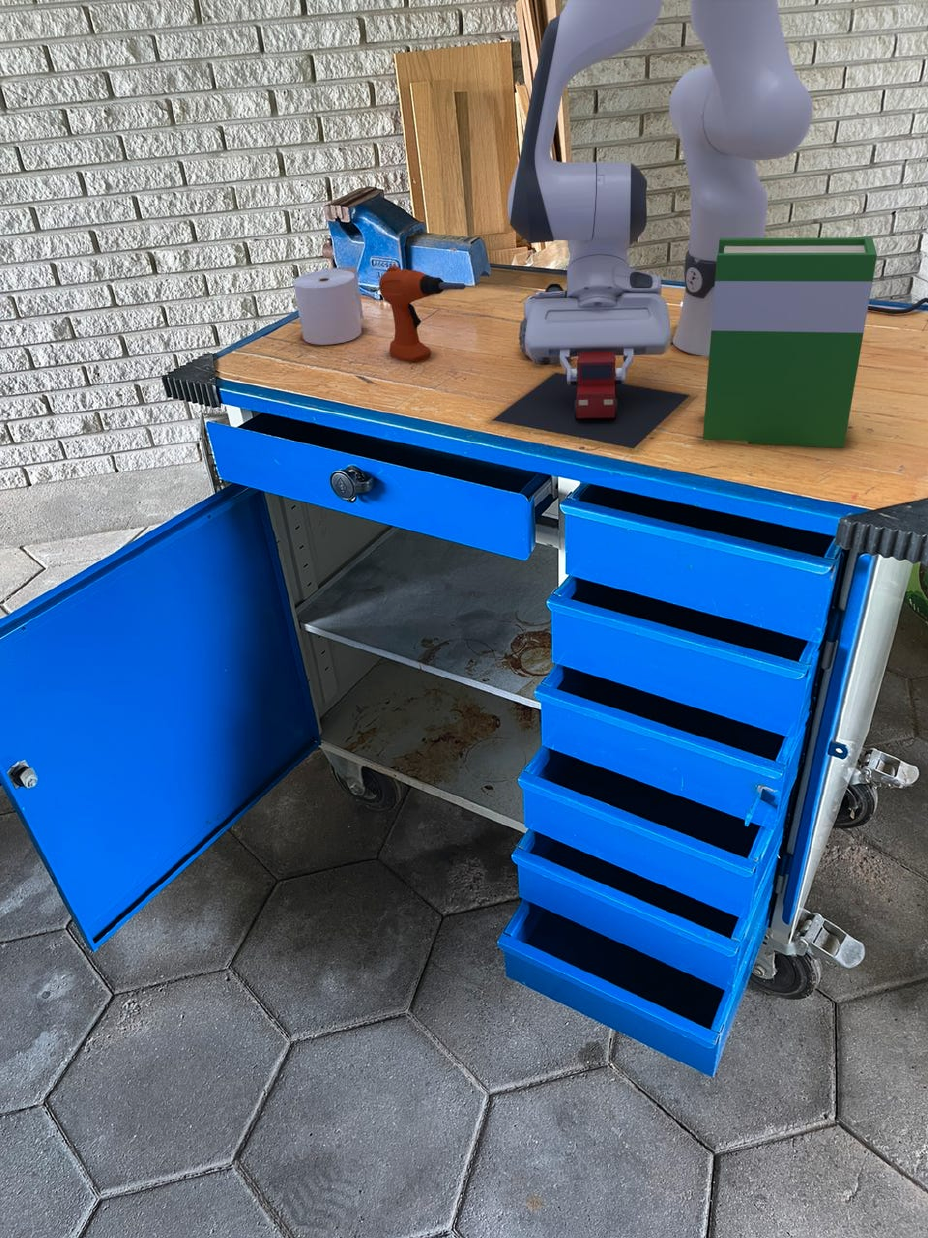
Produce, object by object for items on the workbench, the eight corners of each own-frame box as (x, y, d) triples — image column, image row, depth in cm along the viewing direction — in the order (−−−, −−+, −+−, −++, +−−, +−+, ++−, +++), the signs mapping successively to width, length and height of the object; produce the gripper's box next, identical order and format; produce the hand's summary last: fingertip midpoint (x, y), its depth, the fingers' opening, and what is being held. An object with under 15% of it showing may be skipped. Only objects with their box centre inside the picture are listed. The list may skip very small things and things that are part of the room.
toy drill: (466, 369, 150) (450, 270, 143) (385, 360, 162) (365, 269, 155) (486, 359, 153) (471, 262, 145) (405, 351, 165) (387, 261, 158)
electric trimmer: (539, 326, 168) (538, 308, 166) (545, 297, 181) (544, 280, 179) (560, 326, 168) (560, 308, 166) (565, 296, 180) (564, 279, 178)
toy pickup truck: (576, 388, 144) (576, 336, 139) (616, 387, 143) (617, 334, 138) (574, 425, 133) (574, 370, 129) (616, 424, 133) (618, 368, 128)
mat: (555, 374, 150) (555, 372, 149) (689, 397, 139) (689, 394, 139) (491, 422, 137) (491, 419, 137) (633, 450, 127) (633, 448, 126)
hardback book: (702, 441, 127) (717, 255, 113) (705, 418, 133) (719, 238, 119) (843, 447, 123) (877, 254, 109) (840, 423, 129) (871, 236, 115)
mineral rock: (526, 336, 164) (523, 276, 158) (587, 339, 161) (587, 278, 155) (502, 364, 155) (499, 302, 149) (567, 368, 151) (567, 304, 145)
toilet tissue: (297, 347, 168) (287, 289, 163) (310, 323, 178) (301, 268, 172) (357, 344, 167) (349, 285, 162) (367, 320, 177) (359, 265, 171)
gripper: (522, 281, 134) (520, 375, 132) (672, 276, 131) (671, 372, 129) (526, 303, 140) (523, 393, 138) (668, 299, 137) (668, 390, 135)
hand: (596, 383), depth 134 cm, fingers closed on toy pickup truck, 5 cm apart
